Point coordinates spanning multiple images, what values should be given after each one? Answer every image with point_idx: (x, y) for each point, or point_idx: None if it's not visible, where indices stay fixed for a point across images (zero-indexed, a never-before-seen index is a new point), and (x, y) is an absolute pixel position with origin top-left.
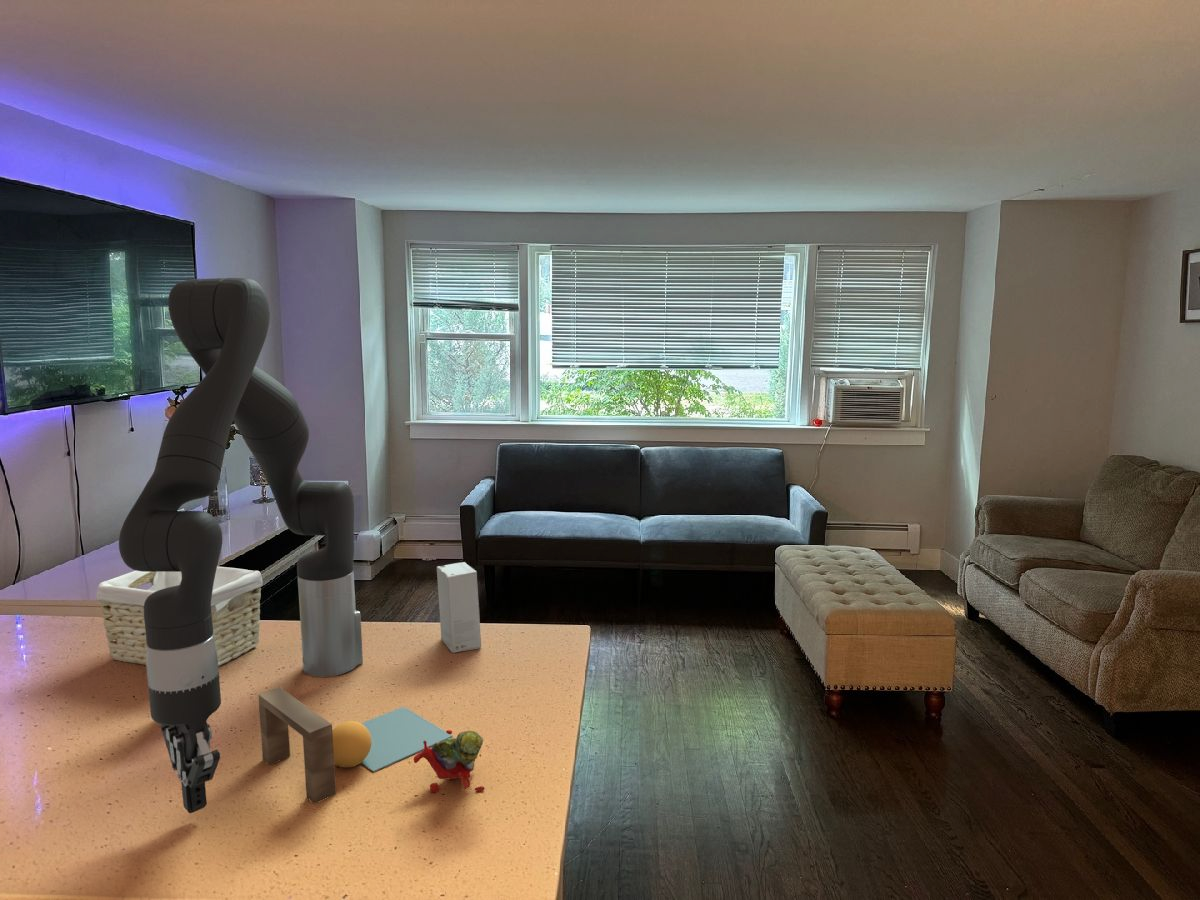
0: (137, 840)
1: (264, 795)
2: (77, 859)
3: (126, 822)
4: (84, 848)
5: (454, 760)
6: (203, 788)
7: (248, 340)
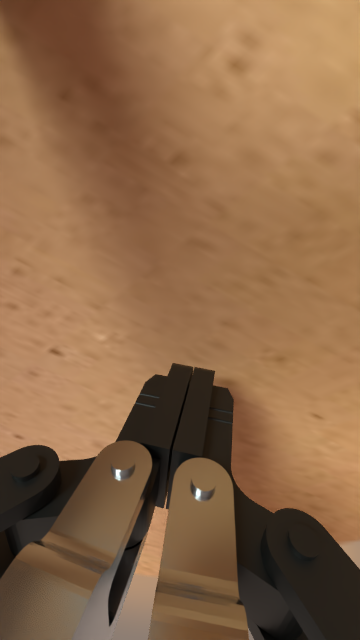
0: None
1: (267, 134)
2: None
3: (81, 440)
4: None
5: None
6: (230, 448)
7: None
